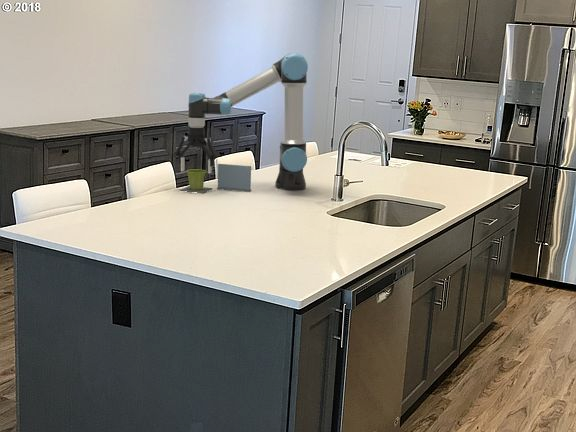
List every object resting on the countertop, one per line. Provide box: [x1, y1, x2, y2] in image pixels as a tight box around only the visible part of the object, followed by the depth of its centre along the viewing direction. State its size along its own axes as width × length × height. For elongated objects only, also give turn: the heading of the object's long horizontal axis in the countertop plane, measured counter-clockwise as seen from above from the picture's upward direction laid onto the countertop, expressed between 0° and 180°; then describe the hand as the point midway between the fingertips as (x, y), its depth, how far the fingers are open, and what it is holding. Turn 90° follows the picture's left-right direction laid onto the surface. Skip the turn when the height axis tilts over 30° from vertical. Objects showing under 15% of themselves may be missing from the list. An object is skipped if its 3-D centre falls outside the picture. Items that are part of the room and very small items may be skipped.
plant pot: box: [186, 168, 208, 190], centre depth 362 cm, size 9×9×9 cm
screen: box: [216, 163, 252, 193], centre depth 366 cm, size 16×3×12 cm, turn 75°
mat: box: [179, 185, 213, 194], centre depth 363 cm, size 12×12×1 cm
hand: (196, 172), depth 361 cm, fingers open, 13 cm apart
